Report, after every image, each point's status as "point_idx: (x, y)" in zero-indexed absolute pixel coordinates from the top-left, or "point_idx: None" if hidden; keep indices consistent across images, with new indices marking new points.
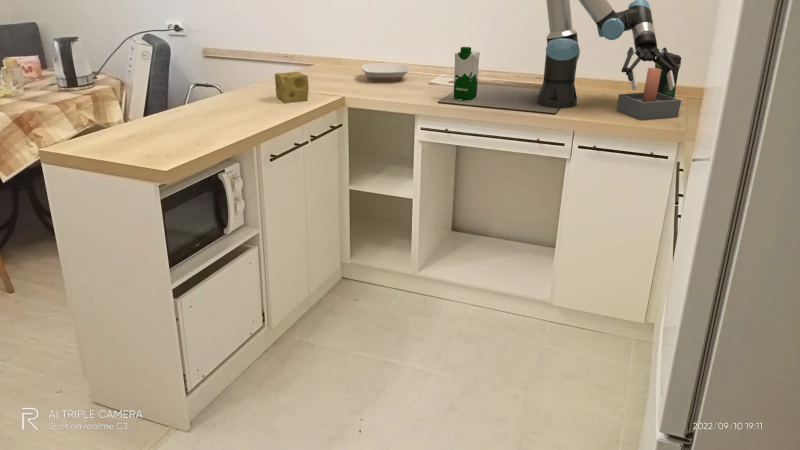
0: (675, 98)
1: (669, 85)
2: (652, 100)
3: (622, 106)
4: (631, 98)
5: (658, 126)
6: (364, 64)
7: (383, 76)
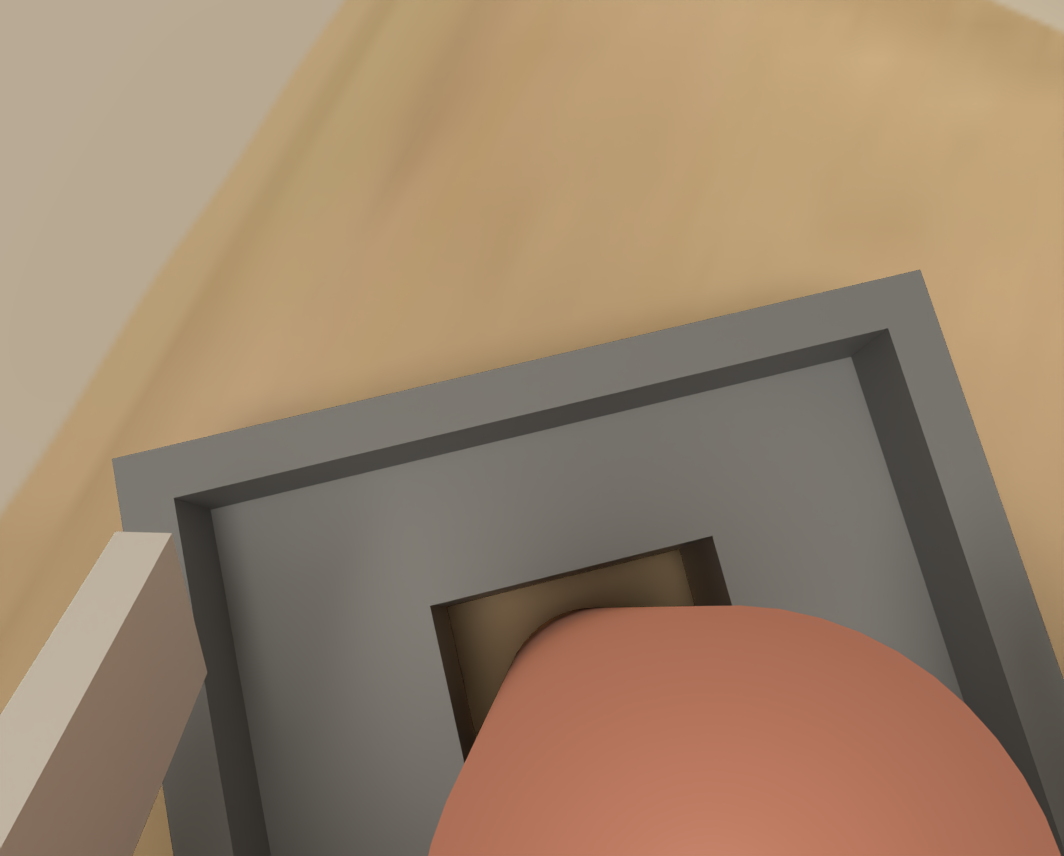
0: None
1: (161, 743)
2: (598, 608)
3: None
4: (1025, 625)
5: (701, 61)
6: None
7: None
